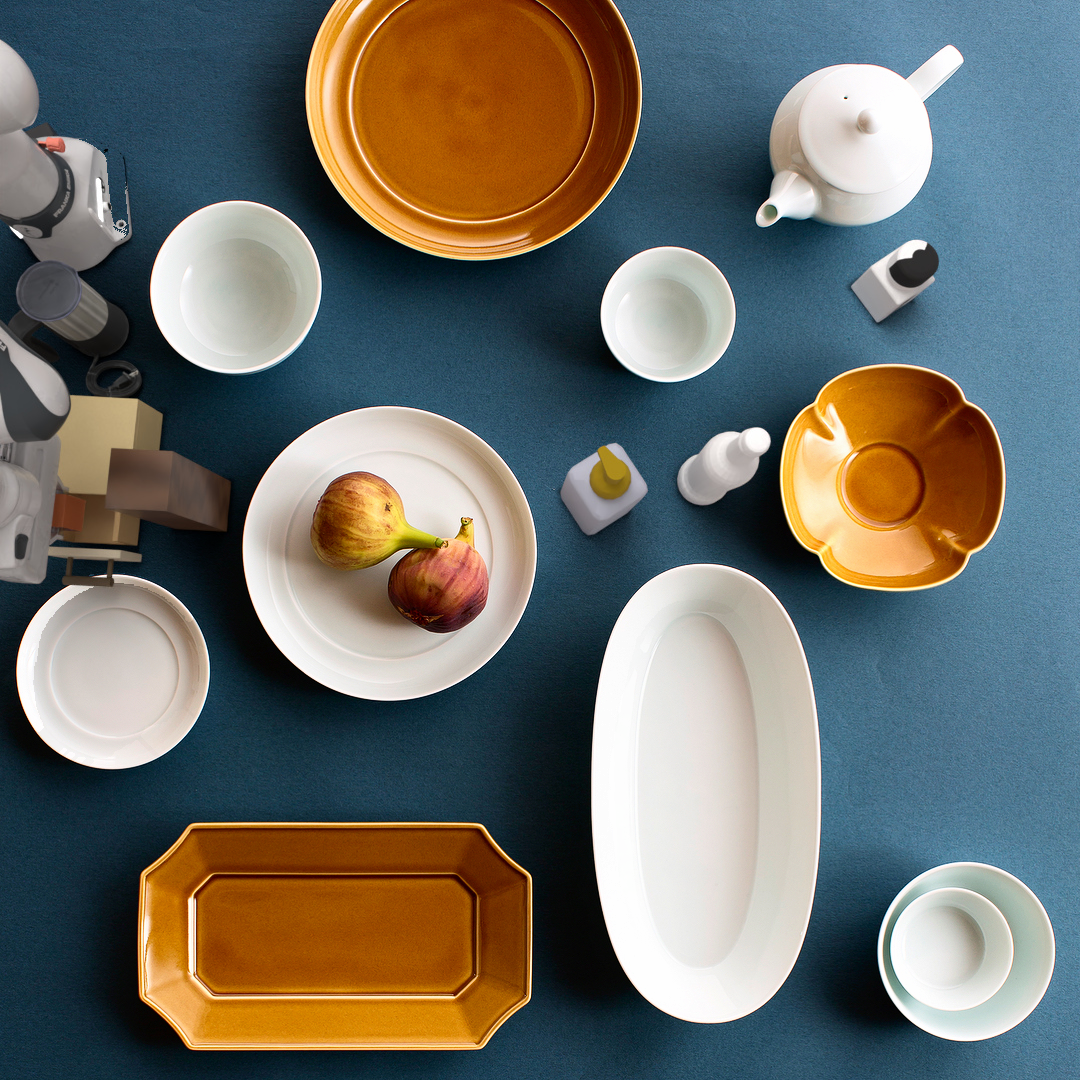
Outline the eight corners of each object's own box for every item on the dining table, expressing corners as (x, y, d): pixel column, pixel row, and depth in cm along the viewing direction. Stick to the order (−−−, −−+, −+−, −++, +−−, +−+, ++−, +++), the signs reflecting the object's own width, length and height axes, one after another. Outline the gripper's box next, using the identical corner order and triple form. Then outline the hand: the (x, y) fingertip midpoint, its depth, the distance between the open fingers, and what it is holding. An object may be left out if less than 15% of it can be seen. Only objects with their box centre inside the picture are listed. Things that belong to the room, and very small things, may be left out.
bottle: (693, 448, 129) (749, 394, 99) (734, 476, 129) (802, 431, 99) (665, 487, 128) (713, 445, 98) (706, 516, 128) (767, 483, 98)
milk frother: (93, 291, 128) (38, 247, 113) (176, 339, 127) (133, 302, 113) (43, 364, 126) (-19, 330, 111) (127, 413, 126) (77, 385, 111)
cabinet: (153, 504, 124) (127, 495, 116) (72, 500, 124) (40, 491, 115) (163, 414, 126) (138, 398, 118) (82, 409, 126) (51, 393, 117)
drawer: (138, 589, 122) (116, 586, 115) (63, 585, 122) (37, 583, 115) (150, 476, 124) (129, 467, 117) (76, 472, 124) (51, 463, 117)
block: (53, 498, 112) (32, 492, 107) (85, 500, 112) (66, 494, 107) (49, 530, 111) (28, 525, 106) (82, 531, 112) (62, 527, 107)
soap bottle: (602, 463, 128) (625, 423, 103) (633, 509, 127) (663, 480, 103) (556, 492, 127) (568, 459, 102) (586, 539, 127) (606, 517, 102)
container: (912, 299, 133) (955, 264, 120) (876, 323, 133) (916, 291, 120) (885, 262, 134) (925, 224, 121) (849, 287, 133) (885, 250, 120)
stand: (180, 478, 125) (110, 447, 103) (231, 481, 125) (173, 451, 104) (175, 529, 124) (104, 508, 102) (226, 531, 124) (167, 511, 103)
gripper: (-19, 412, 97) (46, 439, 111) (-40, 578, 95) (29, 584, 109) (34, 415, 98) (92, 442, 111) (13, 580, 95) (76, 586, 109)
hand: (61, 513), depth 110 cm, fingers closed on block, 4 cm apart
